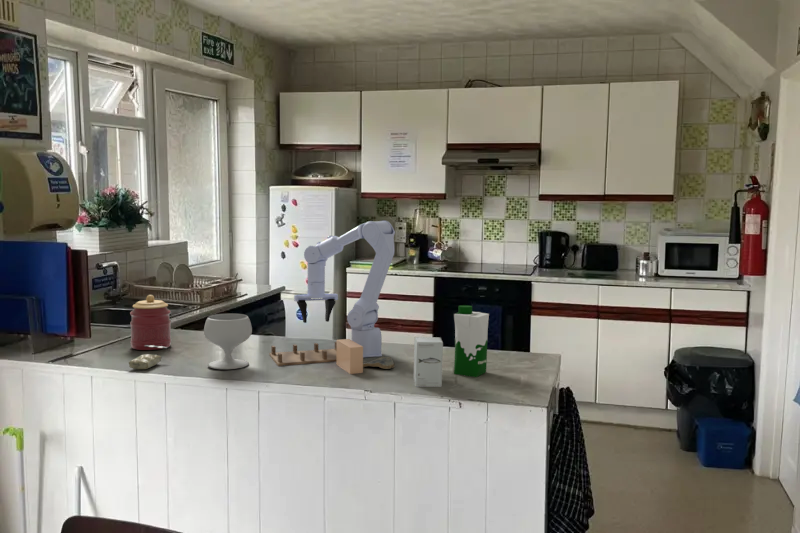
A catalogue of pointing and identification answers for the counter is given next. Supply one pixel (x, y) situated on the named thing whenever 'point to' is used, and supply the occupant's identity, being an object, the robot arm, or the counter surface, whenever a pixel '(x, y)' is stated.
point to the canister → (150, 324)
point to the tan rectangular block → (349, 356)
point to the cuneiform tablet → (145, 360)
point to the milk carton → (470, 342)
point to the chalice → (227, 337)
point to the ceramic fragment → (381, 363)
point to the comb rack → (303, 356)
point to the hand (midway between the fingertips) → (316, 321)
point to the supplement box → (428, 361)
